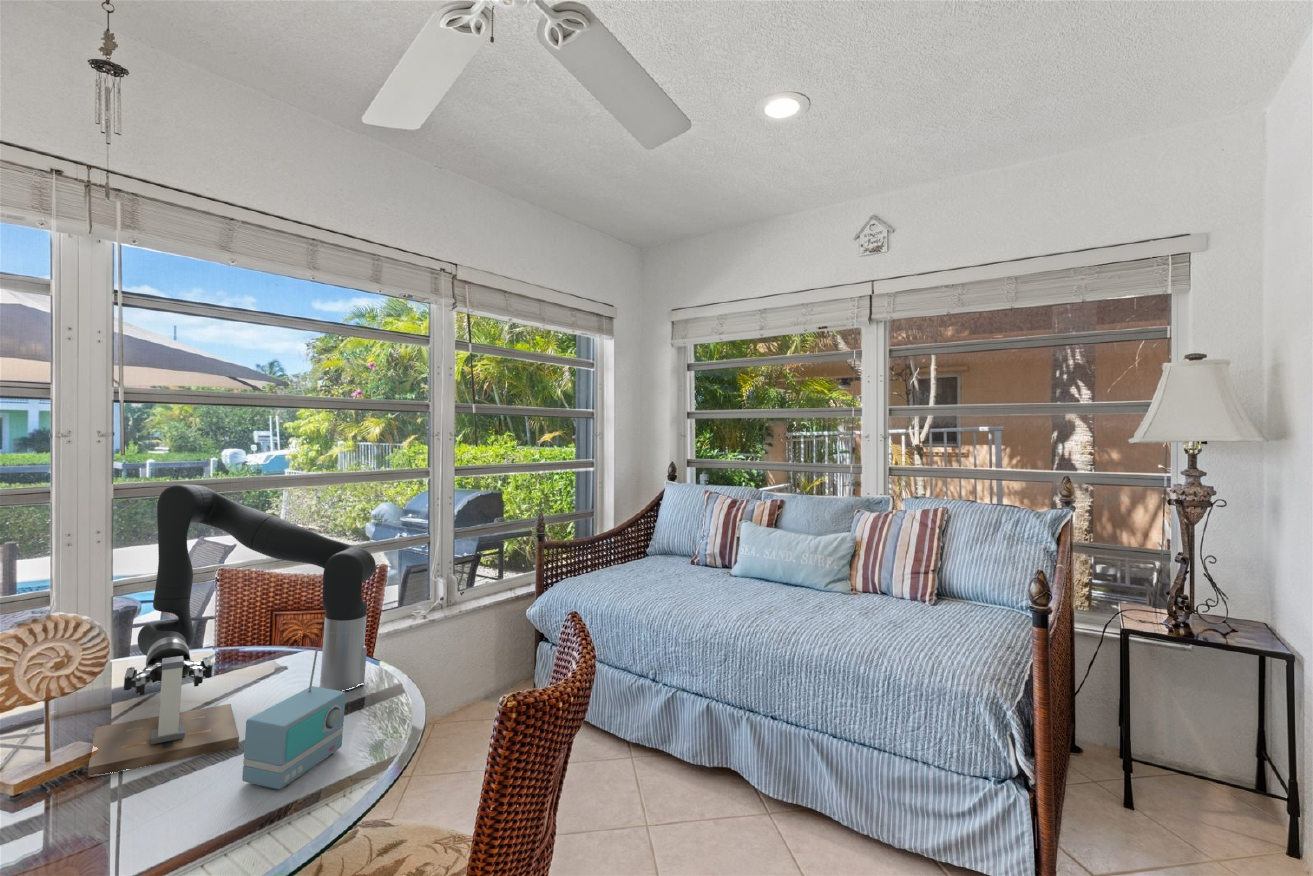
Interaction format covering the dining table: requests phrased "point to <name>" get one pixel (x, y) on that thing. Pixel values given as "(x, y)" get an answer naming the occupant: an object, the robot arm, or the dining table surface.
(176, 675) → the fader
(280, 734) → the radio
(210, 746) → the brown wooden board
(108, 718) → the dining table surface
